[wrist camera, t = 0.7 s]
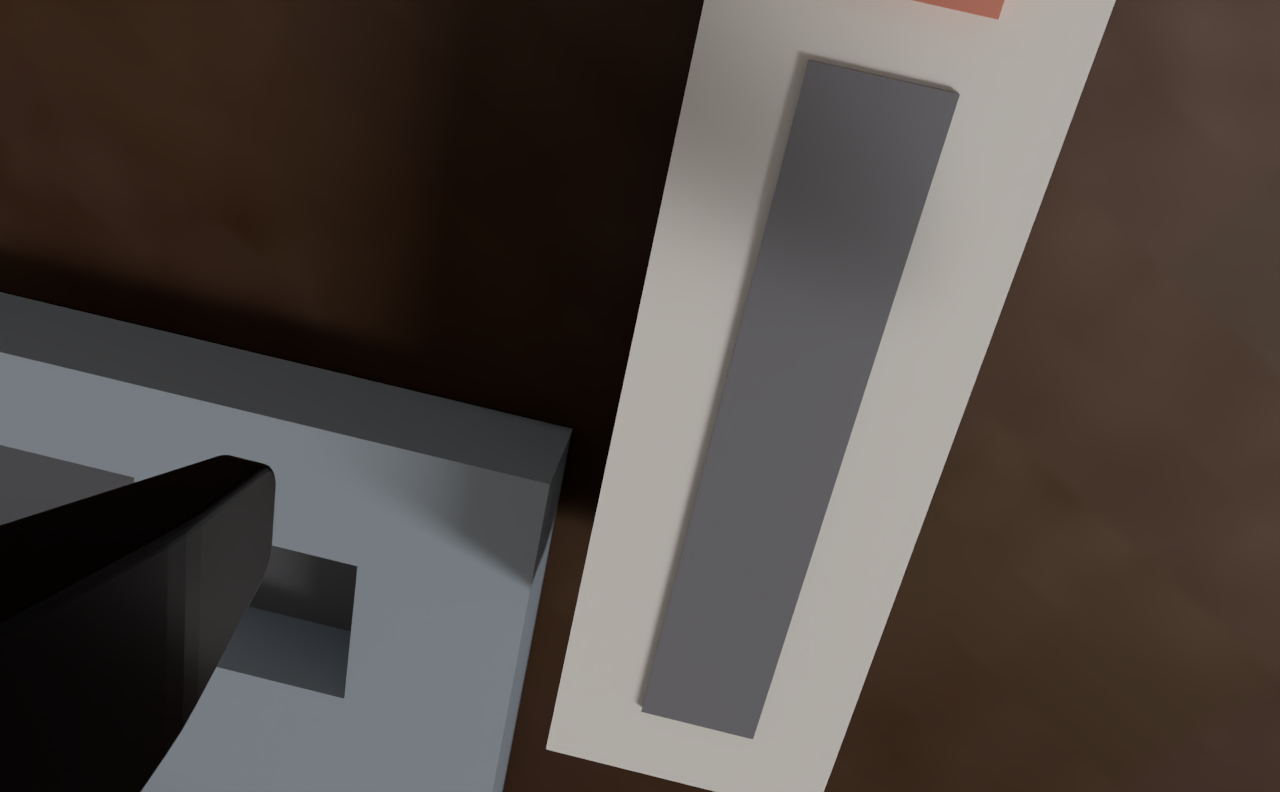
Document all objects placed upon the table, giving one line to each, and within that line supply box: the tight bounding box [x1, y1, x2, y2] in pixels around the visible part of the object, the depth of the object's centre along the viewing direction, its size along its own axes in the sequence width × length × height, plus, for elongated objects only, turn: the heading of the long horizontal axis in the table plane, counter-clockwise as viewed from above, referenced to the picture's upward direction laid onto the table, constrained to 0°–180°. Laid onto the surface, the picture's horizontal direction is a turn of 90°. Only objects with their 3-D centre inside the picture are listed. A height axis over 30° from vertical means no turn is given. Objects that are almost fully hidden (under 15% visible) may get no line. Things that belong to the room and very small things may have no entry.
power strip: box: [546, 0, 1116, 792], centre depth 15 cm, size 13×4×5 cm, turn 169°
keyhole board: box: [0, 292, 573, 792], centre depth 22 cm, size 16×14×2 cm
